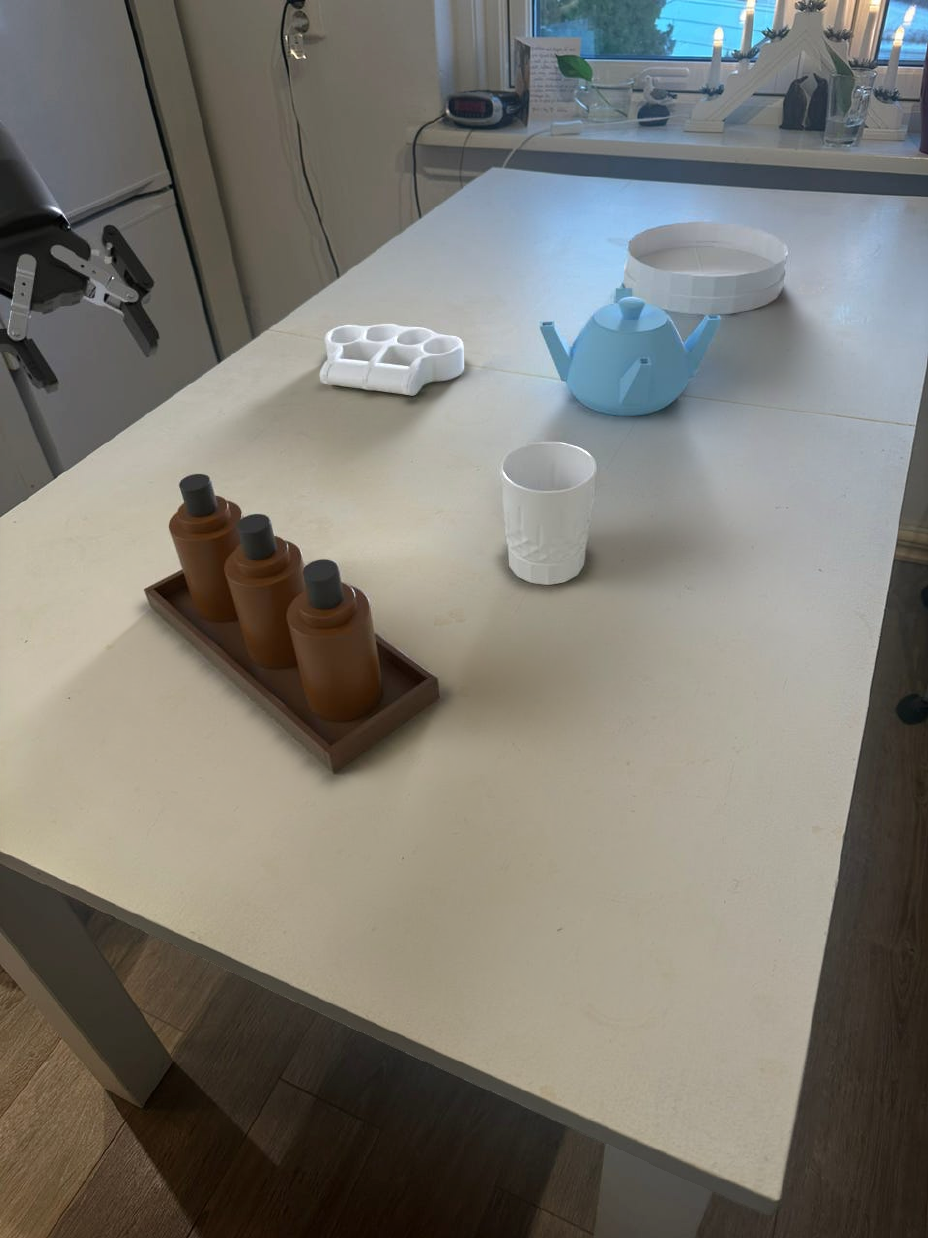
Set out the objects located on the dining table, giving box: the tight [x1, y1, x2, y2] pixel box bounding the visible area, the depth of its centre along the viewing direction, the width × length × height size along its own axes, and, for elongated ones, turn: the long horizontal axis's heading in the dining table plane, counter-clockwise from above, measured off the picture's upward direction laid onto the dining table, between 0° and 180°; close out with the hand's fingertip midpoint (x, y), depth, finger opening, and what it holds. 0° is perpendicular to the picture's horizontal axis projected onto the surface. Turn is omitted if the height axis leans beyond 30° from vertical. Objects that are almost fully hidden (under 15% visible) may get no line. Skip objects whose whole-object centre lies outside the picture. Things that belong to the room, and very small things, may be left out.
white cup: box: [499, 441, 598, 586], centre depth 75 cm, size 8×8×10 cm
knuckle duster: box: [319, 323, 465, 397], centre depth 107 cm, size 3×18×15 cm
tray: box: [143, 569, 440, 775], centre depth 70 cm, size 26×10×2 cm, turn 44°
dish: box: [623, 221, 789, 316], centre depth 123 cm, size 22×22×5 cm
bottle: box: [168, 473, 245, 622], centre depth 71 cm, size 6×6×12 cm
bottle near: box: [287, 558, 383, 722], centre depth 62 cm, size 6×6×12 cm
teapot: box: [539, 287, 723, 417], centre depth 98 cm, size 15×15×11 cm
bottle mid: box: [224, 513, 306, 669], centre depth 67 cm, size 6×6×12 cm
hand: (105, 369), depth 69 cm, fingers open, 8 cm apart
